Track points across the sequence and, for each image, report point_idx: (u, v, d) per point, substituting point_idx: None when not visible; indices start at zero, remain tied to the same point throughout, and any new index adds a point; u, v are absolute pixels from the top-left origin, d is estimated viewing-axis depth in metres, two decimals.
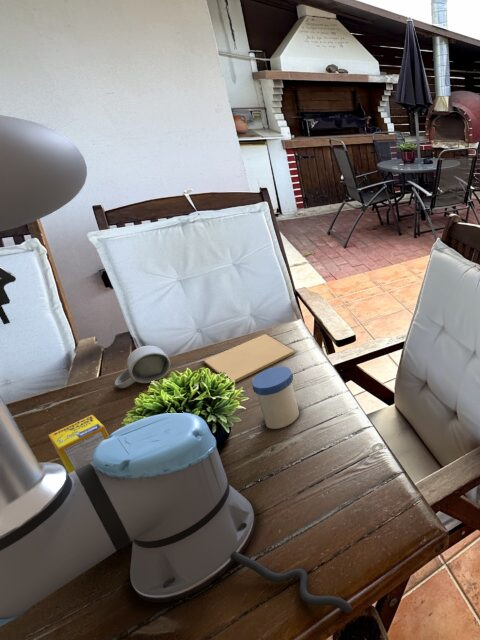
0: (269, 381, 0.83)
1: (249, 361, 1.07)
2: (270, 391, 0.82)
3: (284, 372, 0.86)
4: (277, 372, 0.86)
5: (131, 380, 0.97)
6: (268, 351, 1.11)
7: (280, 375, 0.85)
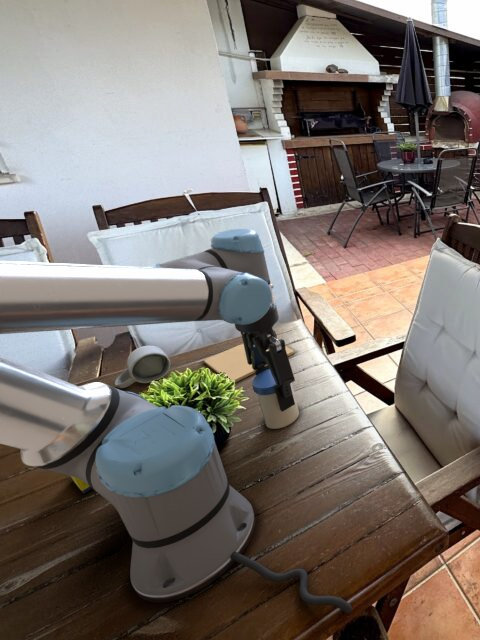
0: (269, 381, 0.83)
1: None
2: (270, 391, 0.82)
3: None
4: None
5: (131, 380, 0.97)
6: None
7: None
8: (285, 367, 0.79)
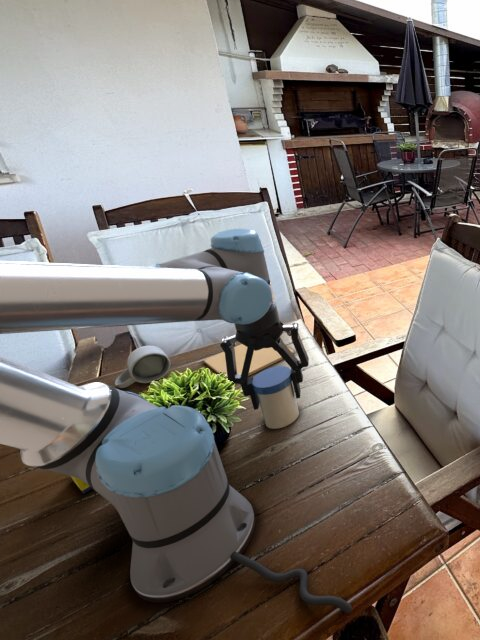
0: (277, 377, 0.84)
1: None
2: (288, 382, 0.84)
3: (276, 369, 0.87)
4: (270, 373, 0.85)
5: (131, 380, 0.97)
6: (268, 351, 1.11)
7: (278, 371, 0.86)
8: (303, 347, 0.86)
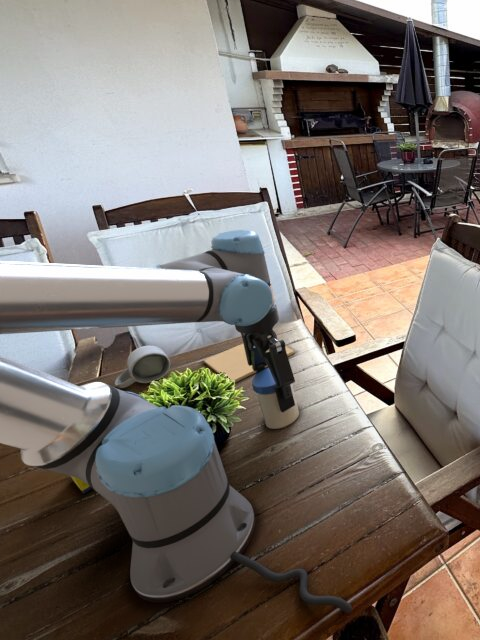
0: None
1: None
2: None
3: (258, 380, 0.83)
4: (266, 380, 0.83)
5: (131, 380, 0.97)
6: None
7: (263, 377, 0.84)
8: None
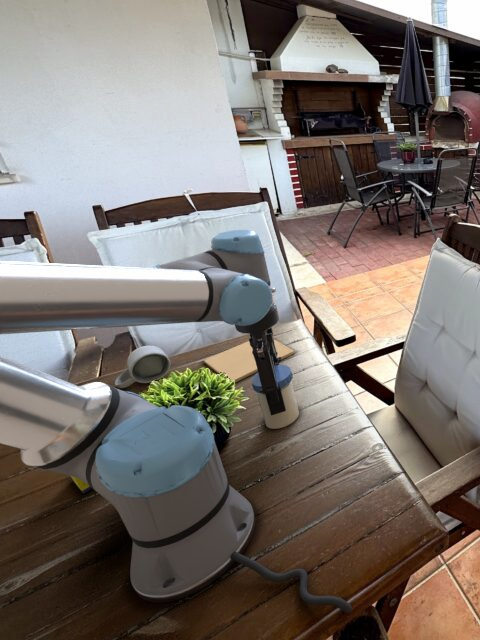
0: None
1: (249, 361, 1.07)
2: None
3: (283, 373, 0.85)
4: (278, 372, 0.85)
5: (131, 380, 0.97)
6: None
7: (278, 376, 0.84)
8: (267, 375, 0.77)
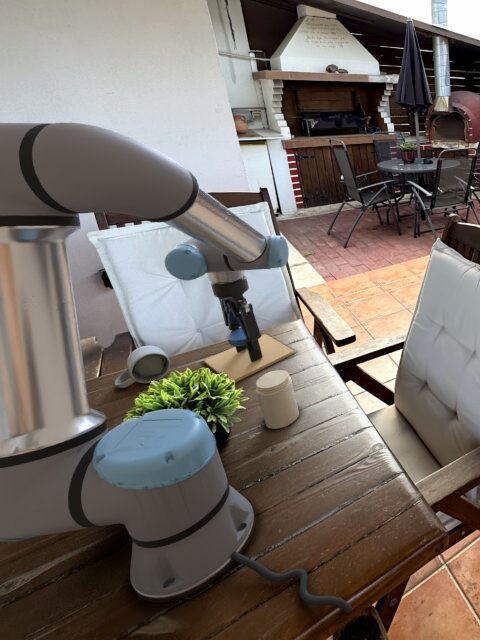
0: (241, 336, 1.05)
1: (249, 361, 1.07)
2: (241, 343, 1.04)
3: None
4: None
5: (131, 380, 0.97)
6: (268, 351, 1.11)
7: None
8: (253, 325, 1.02)
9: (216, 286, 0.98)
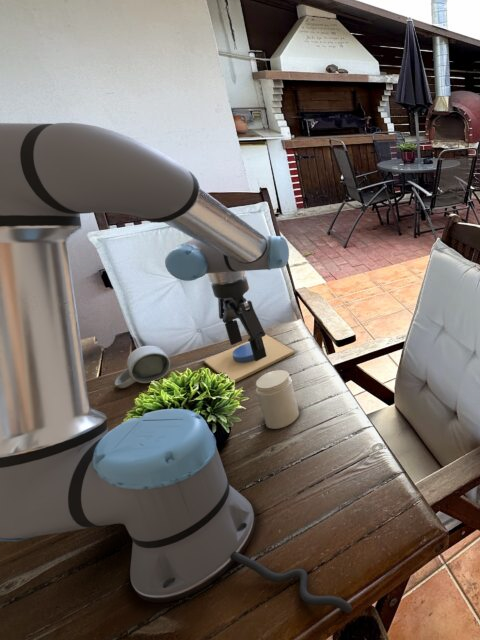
0: (245, 352, 1.07)
1: None
2: (246, 360, 1.06)
3: None
4: None
5: (131, 380, 0.97)
6: (268, 351, 1.11)
7: None
8: (255, 323, 1.00)
9: (216, 287, 0.98)
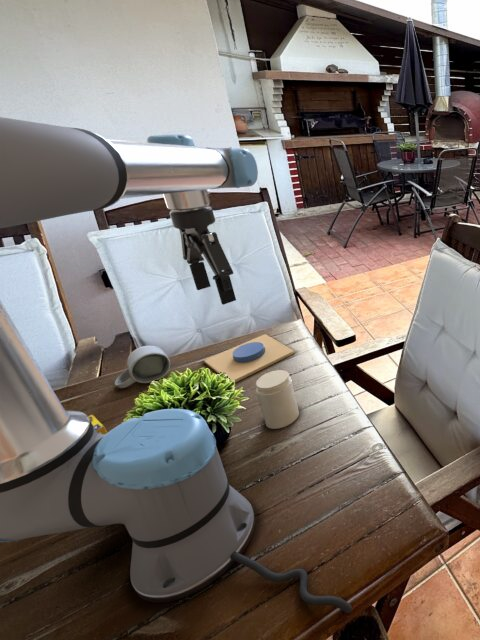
0: (245, 352, 1.07)
1: None
2: (246, 360, 1.06)
3: (258, 346, 1.10)
4: (252, 346, 1.10)
5: (131, 380, 0.97)
6: (268, 351, 1.11)
7: (255, 348, 1.09)
8: (221, 258, 0.87)
9: (175, 214, 0.84)
